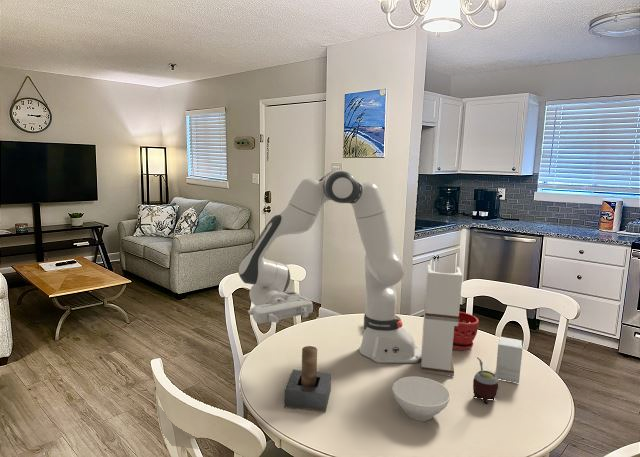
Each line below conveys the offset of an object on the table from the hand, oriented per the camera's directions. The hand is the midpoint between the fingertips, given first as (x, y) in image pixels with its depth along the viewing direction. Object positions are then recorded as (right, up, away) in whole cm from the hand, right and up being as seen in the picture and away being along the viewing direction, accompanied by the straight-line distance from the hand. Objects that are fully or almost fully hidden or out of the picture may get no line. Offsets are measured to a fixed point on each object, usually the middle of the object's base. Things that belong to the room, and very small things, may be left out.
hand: (293, 317), depth 136 cm
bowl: (+37, -25, -13) cm, 46 cm away
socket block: (+5, -23, -7) cm, 24 cm away
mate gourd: (+58, -24, -5) cm, 63 cm away
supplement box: (+71, -22, +10) cm, 75 cm away
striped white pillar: (+49, -21, +16) cm, 56 cm away
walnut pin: (+5, -22, -7) cm, 24 cm away
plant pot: (+63, -18, +34) cm, 73 cm away
